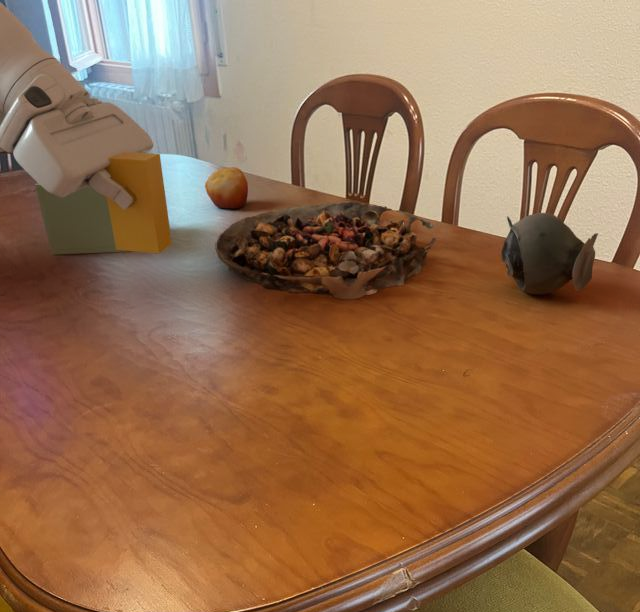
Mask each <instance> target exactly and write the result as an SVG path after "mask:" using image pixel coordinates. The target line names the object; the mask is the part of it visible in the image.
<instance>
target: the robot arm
mask: <svg viewBox="0 0 640 612" xmlns="http://www.w3.org/2000/svg"><path fill="white" fill-rule="evenodd" d="M90 96H91V95H90V92H89V91H88V90H87V89H86V88H85V87H84V85H82V83H81V82H79V81H78V79H77V78H75V76H73V74H72V73H71V72H70V71H69V70H68V69H67V68H66V67H65V66H64V65H63V64H62V63H61V62H60V61H59V60H58V59H57V58H56V57H55V56H54V55H53V54H51V53H49V52H47V51H46V50H44V49H43V48H42V47H41V46H40V45H39V44H38V42H37V41H36V39H35V38H34V36H33V35H32V33H31V31H30V30H29V28H27V26H26V25H25V24H24V23H23V22H22V21H21V20H20V19H19V18H18V17H17V16H16V15H15V14H14V13H12V11H10V9H8V8H7V7H6V6H5V5H4V4H3V3H2V2H1V1H0V154H1V155H13V157H14V159H15V161H16V162H17V164H18V165H19V166H20V167H21V168H22V169H23V170H24V171H25V172H26V173H27V174H28V175H29V176H30V177H31V178H32V179H33V180H34V181H35V182H36V183H39V184H40V185H41V186H42V187H43V188H44V189H45V190H47V191H48V192H50V193H52V194H54V195H56V196H59V197H65V196H67V195H69V194H72V193H74V192H76V191H78V190H80V189H83V188H85V187H87V186H89V185H90V186H91V187H92V188H93V189H94V190H95V191H96V192H98V193H100V194H102V195H104V196H106V197H108V198H110V199H112V200H114V201H115V202H116V203H117V204H118V205H119V206H120V207H121V208H122V209H127V208H129V207H131V206H132V205H133V204H134V202H135V201H136V199H137V198H136V195H135V194H134V193H132V191H131V190H130V189H129V188H128V187H125V188H123V187H122V186H120V185H119V184H117V183H116V182H114V181H113V180H112V179H110V177H111V175H110V174H109V173H108V172H107V171H106V170H105V169H104V168H106V167H108V166H110V164H111V162H110V160H109V159H108V158H110V157H112V156H115V155H117V154H120V153H122V152H132V153H151V151H152V149H153V148H154V142H153V139H152V138H151V135H150V134H148V132H147V131H145V129H143V127H141V126H140V125H139V124H138V123H137V122H136V121H135V120H134V119H133V118H132V117H131V116H129V114H127V113H126V112H125V111H124V110H122V109H121V108H120V107H119V106H118V105H116V104H114V103H113V102H108V101H104V102H103V101H101V100H99V98H96V97H90Z"/></svg>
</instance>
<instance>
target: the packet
mask: <svg viewBox="0 0 640 612" xmlns="http://www.w3.org/2000/svg"><path fill="white" fill-rule="evenodd" d="M108 159H109V160H110V162H111V164H110V166H108V167H106V168H104V169H105V170H106V171H107V172H108V173H109V174H110V175H111V177H110V179H112V180H113V181H114V182H116V183H117V184H119V185H120V186H122V187H123V188H125V187H128V188H129V189H130V190H131V191H132V193H134V194H135V195H136V198H137V199H136V201H135V202H134V204H133V205H132V206H131V207H129V208H127V209H122V208H121V207H120V206H119V205H118V204H117V203H116V202H115V201H114V200H112V199H110V198H108V197H107V202H108V207H109V213H110V218H111V223H112V229H113V234H114V240H115V245H116V250H125V251H126V252H136V253H137V252H140V253H150V254H161V253H162V252H164V251H165V250H166V249H168V248H169V247H171V246H172V245H173V242H172V241H173V240H172V235H171V228H170V226H171V225H170V220H169V213H168V204H167V197H166V190H165V189H166V188H165V183H164V175H163V168H162V161H161V154H160V153H151V152H149V153H132V152H122V153H120V154H117V155H115V156H112V157H110V158H108Z"/></svg>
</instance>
